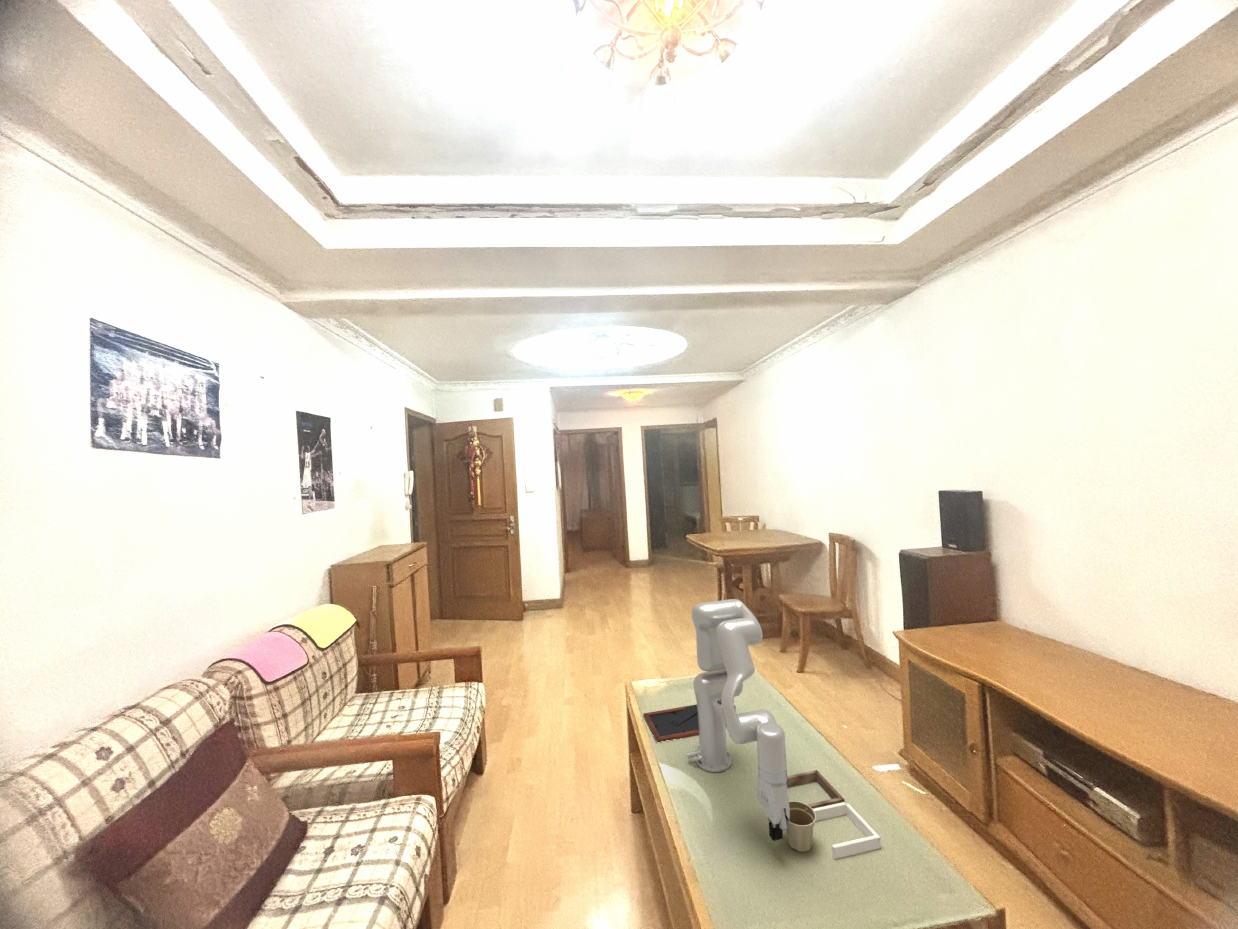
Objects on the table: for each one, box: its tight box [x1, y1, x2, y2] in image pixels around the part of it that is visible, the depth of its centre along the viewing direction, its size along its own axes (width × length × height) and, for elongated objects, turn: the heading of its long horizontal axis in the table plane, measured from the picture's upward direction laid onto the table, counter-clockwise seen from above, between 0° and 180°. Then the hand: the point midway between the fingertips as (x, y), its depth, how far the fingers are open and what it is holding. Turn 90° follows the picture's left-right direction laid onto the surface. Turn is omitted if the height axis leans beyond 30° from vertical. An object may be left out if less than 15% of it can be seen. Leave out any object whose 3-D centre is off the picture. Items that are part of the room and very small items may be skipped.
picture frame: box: [642, 703, 699, 743], centre depth 197 cm, size 20×2×25 cm
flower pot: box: [785, 800, 817, 853], centre depth 134 cm, size 9×9×9 cm
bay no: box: [786, 769, 846, 809], centre depth 151 cm, size 14×14×3 cm
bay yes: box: [813, 801, 882, 860], centre depth 136 cm, size 14×14×3 cm
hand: (776, 837), depth 132 cm, fingers closed
